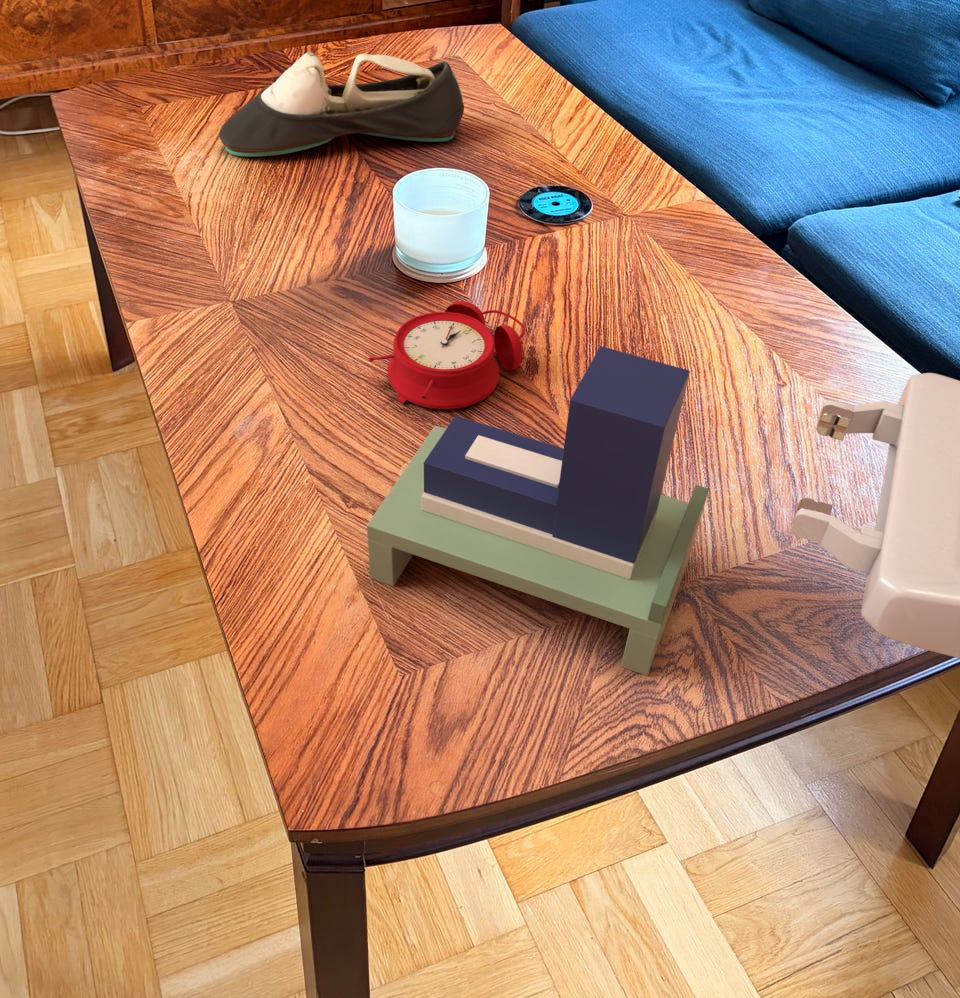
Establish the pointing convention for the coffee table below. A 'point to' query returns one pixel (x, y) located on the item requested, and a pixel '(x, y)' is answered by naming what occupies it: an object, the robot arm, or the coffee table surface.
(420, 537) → the shoe rack
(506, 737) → the coffee table surface
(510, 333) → the alarm clock
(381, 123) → the ballet flat
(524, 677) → the coffee table surface
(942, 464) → the robot arm
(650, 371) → the dark blue l-shaped block
